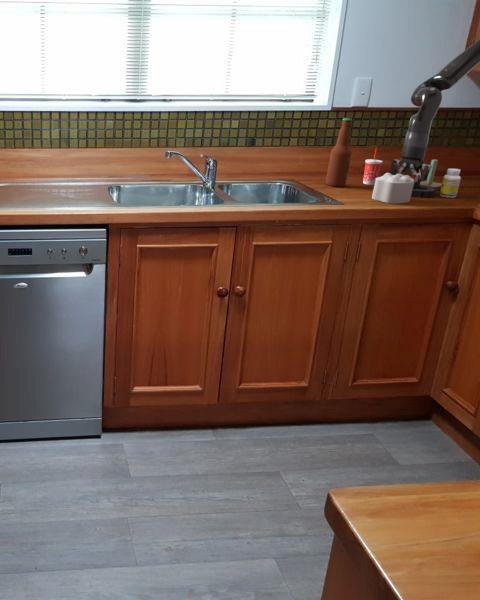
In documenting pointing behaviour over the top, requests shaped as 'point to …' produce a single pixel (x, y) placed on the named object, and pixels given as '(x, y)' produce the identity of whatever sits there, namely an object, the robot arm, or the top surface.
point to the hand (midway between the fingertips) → (405, 190)
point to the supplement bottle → (450, 183)
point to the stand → (430, 177)
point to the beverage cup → (371, 170)
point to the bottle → (340, 157)
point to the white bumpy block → (393, 188)
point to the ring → (423, 192)
